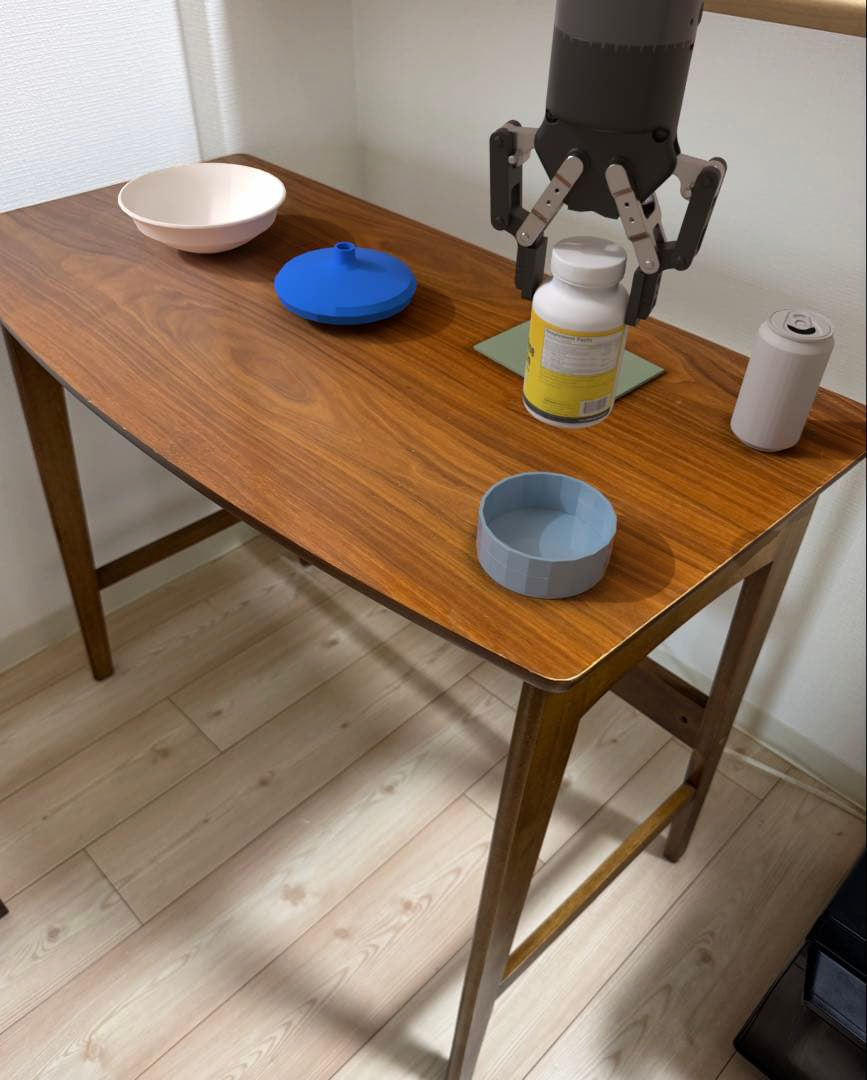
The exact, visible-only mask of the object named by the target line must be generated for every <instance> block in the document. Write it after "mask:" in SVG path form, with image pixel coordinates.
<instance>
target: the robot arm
mask: <svg viewBox="0 0 867 1080" xmlns="http://www.w3.org/2000/svg"><path fill="white" fill-rule="evenodd" d="M555 2H556V3H555V12H554V21H553V31H552V40H551V50H550V61H549V70H548V79H547V89H546V97H545V111H544V117H543V120H542V121H541V124H540V126H539V127H529V126H522V124H521V123H520V122H519V121H518V120H516V119H510V120H508V121H506V122H505V123H504V124H502V125H501V126H500V127H498V128H497V129H496V130H494V131H493V132H492V133H491V134H490V136H489V138H488V139H489V141H488V143H489V198H490V199H489V207H490V208H489V209H490V210H489V213H490V216H489V217H490V224H491V226H492V228H493V229H494V230H495V231H498V232H502V231H505V232H507V233H508V234H510V235H511V236H512V237H513V238H514V239H515V241H516V244H517V248H516V249H517V250H516V259H515V269H514V281H513V282H514V285H515V289H516V290H520V291H521V292H520V298H521V300H524V301H529V302H533V297H534V293H535V291H536V289H537V287H538V286H539V285H540V284H541V283H542V282H543V281H544V274H545V266H546V257H547V250H548V242H549V237H548V236H545V231H546V230H547V228H548V227H549V226H550V224H551V223H552V221H553V220H554V219H555V217H556V216H557V215H558V213H559V212H560V210H561V209H562V208H563V207H564V205H565V206H566V207H567V209H566V210H568V211H572V212H576V213H577V212H578V213H585V212H586V213H588V212H593V213H595V214H597V215H599V216H601V217H603V218H605V219H611V220H615V221H618V220H619V218H620V221H621V224H622V228H623V230H624V233H625V236H626V238H627V240H628V241H630V242H631V244H632V247H633V250H634V253H635V257H636V259H637V262H638V266H637V268H636V269H635V271H634V272H633V277H632V282H631V288H630V292H629V294H630V297H629V302H628V308H627V313H626V318H625V325H629V327H633V328H636V327H638V325H639V323H640V321H641V320H643V321H646V320H647V319H648V317H649V316H650V314H651V313H652V311H653V310H654V309H655V306H656V305H657V300H658V295H659V291H660V287H661V282H662V277H663V272H664V271H666V270H675V271H678V272H683V271H684V272H685V271H687V270H688V269H689V268H690V266H691V265H692V263H693V261H694V259H695V257H696V256H697V255H698V254H699V251H700V250H701V247H702V245H703V243H704V242H703V241H704V238H705V235H706V233H707V229H708V227H709V224H710V221H711V218H712V215H713V213H714V209H715V205H716V203H717V200H718V197H719V194H720V192H721V188H722V186H723V183H724V180H725V177H726V173H727V171H728V164H727V161H726V160H725V159H724V158H723V157H720V156H714V157H711V158H710V159H709V160H706V159H703V158H698V157H696V156H693V155H688V154H684V153H682V150H681V146H680V143H679V139H678V127H679V123H680V117H681V112H682V107H683V102H684V98H685V97H684V96H685V91H686V87H687V82H688V77H689V72H690V67H691V62H692V57H693V53H694V48H695V43H696V38H697V34H698V27H699V25H700V24H701V23H702V19H703V18H702V17H703V14H704V7H705V1H704V0H556V1H555ZM533 149H534V150H535V153H536V155H537V158H538V159H539V162H540V163H541V165H542V167H543V169H544V171H545V174H546V176H547V178H548V179H549V181H550V182H549V183H548V185H547V186H546V187H545V189H544V190H543V192H542V194H541V195H540V196H539V198H538V199H537V201H536V202H535V204H534V205H533V207H532V208H531V210H530V211H529V210H527V209H525V207H524V208H523V168H524V167H523V165H524V164H525V163H526V162H527V161H528V160H529V159H530V157H531V153H532V150H533ZM672 175H673V176H675V177H677V179H678V181H679V182H680V188H679V192H680V195H681V197H682V198H683V199H684V200H686V201H688V204H687V207H686V210H685V213H684V216H683V219H682V222H681V226H680V229H679V231H678V232H679V233H678V236H677V239H676V240H669V241H668V239H667V236H666V233H665V229H664V226H663V222H662V217H663V216H662V210H661V206H660V203H659V199H658V196H657V192H656V191H657V190H658V189H659V188H661V186H662V185H663V184H664V183H666V181H667V180H668V179H670V178H671V176H672Z"/></svg>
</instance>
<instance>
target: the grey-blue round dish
mask: <svg viewBox="0 0 867 1080" xmlns="http://www.w3.org/2000/svg"><path fill="white" fill-rule="evenodd" d="M617 523H618V517H617V514H616V512H615V509H614V507H613V505H612V503H611V501H610V500H609V499H608V498H607V497H606V496H605V495H604V494H603V493H602V492H601V491H600V490H599V489H597V488H595V487H594V486H593V485H590V484H589V483H587V482H586V481H584V480H582V479H578V478H576V477H572V476H569V475H567V474H564V473H557V472H556V473H555V472H551V471H550V472H549V471H530V472H529V471H528V472H527V471H526V472H521V473H517V474H514V475H510V476H507V477H504V478H502V479H501V480H499V481H498V482H496V483H494V484H493V485H491V486H490V487H489V488H488V489H487V491H486V492H485V493H484V494H483V496H482V497H481V499H480V506H479V509H478V516H477V529H476V539H475V547H476V557H477V559H478V561H479V564H480V565H481V567H482V569H483V570H484V572H485V573H486V574H487V576H489V578H491V579H492V580H494V582H496V583H497V584H498V585H500V586H502V587H504V588H505V589H507V590H510V591H511V592H514V593H517V594H519V595H523V596H526V597H529V598H530V597H531V598H536V599H544V600H547V599H548V600H553V599H554V600H556V599H565V598H570V597H574V596H577V595H580V594H583V593H584V592H585V593H586V592H587V591H589V590H590V589H592V588H593V587H595V586H596V585H597V584H598V583H599V582H600V581H601V580H602V578H603V577H604V576H605V574H606V572H607V569H608V566H609V565H610V560H611V556H612V551H613V547H614V544H615V543H614V542H615V538H616V534H617Z"/></svg>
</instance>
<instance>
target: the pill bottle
mask: <svg viewBox="0 0 867 1080" xmlns="http://www.w3.org/2000/svg"><path fill="white" fill-rule="evenodd" d="M627 262H628V253H627V250H626V249H625V248H624V247H623V246H621V245H620V244H619V243H617V242H615V241H613V240H610V239H606V238H603V237H598V236H591V235H577V236H576V235H575V236H568V237H566V238H563V239H560V240H559V241H557V242H556V243H555V244H554V246H553V248H552V252H551V260H550V271H551V274H552V275H551V276H548V277H546V278H545V279H543V282H542V283H541V284H540V285H539V286H538V287H537V289H536V291H535V293H534V297H533V301H532V304H531V313H530V320H531V322H530V332H529V340H528V350H527V358H526V367H525V376H524V377H523V387H522V402H523V404H524V407H525V409H526V410H527V411H528V413H529V414H530V415H531V416H532V417H534V418H535V419H536V420H538V421H540V422H541V423H544V424H546V425H549V426H552V427H556V428H560V429H573V430H574V429H585V428H589V427H592V426H596V425H598V424H599V423H600V424H601V422H603V421H604V420H606V419H607V418H608V416H609V415H610V414H611V413H612V411H613V408H614V405H615V401H616V400H615V395H616V390H617V385H618V379H619V374H620V369H621V365H622V359H623V354H624V349H625V350H626V343H627V337H628V333H629V328H630V326H629V325H625V318H626V313H627V308H628V302H629V297H630V292H629V290H628V289H627V288H626V286H625V285H623V283H621V281H623V280H624V278H625V274H626V269H627Z"/></svg>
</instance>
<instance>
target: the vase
mask: <svg viewBox="0 0 867 1080" xmlns="http://www.w3.org/2000/svg"><path fill="white" fill-rule="evenodd" d="M417 283H418V282H417V277H416V275H414V273H413V271H412V270H411V269H410V268H409V266H408V265H407V264H406V263H405V262H403V261H402V260H401V259H399V258H398V257H396V256H394V255H391V254H389V253H387V252H384V251H380V250H376V249H372V248H365V247H357V246H356V245H355V244H354V243H352V242H348V241H342V242H337V243H336V244H334V247H325V248H320V249H316V250H310V251H306V252H304V253H302V254H300V255H297V256H295V257H293V258H292V259H290V260H289V261H287V262H286V263H285V264H284V265H283V267H282V268H281V269H280V270H279V272H278V273H277V274H276V275H275V277H274V283H273V284H274V285H273V288H274V289H275V292H276V294H277V296H278V299H279V301H280V303H281V305H283V306H284V308H286V310H288V311H289V312H291V313H293V314H294V315H295V316H296V315H297V316H298V317H300V318H303V319H306V320H310V321H314V322H317V323H321V324H327V325H328V324H329V325H334V326H335V325H336V326H356V325H365V324H369V323H370V324H371V323H374V322H379V321H381V320H385V319H388V318H391V317H392V316H395V315H396V314H397V315H398V314H399V313H400V312H402V311H403V310H404V309H406V308H407V307H408V306H409V305H410V304H411V301H412V299H413V298H414V295H415V293H416V290H417V286H418V284H417Z"/></svg>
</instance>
